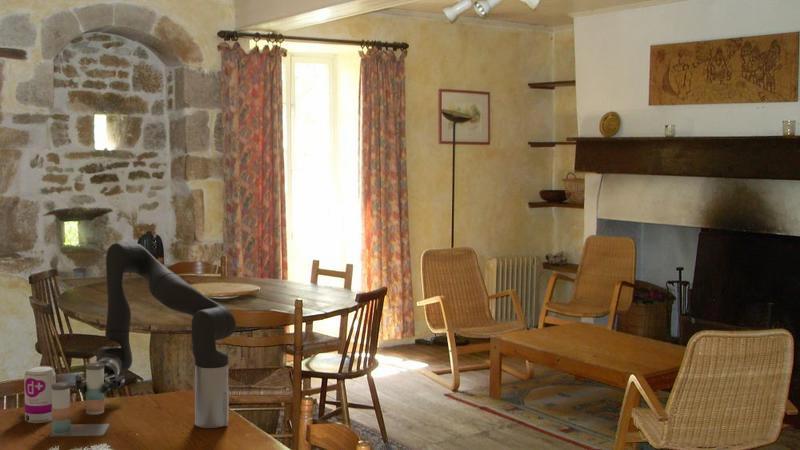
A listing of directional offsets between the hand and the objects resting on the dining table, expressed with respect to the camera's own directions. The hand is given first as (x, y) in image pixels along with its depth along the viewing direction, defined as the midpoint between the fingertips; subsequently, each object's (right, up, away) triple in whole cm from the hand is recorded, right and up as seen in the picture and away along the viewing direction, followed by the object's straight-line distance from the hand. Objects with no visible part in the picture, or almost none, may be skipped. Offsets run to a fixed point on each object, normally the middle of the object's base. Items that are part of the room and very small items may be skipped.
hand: (93, 389), depth 249 cm
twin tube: (-8, -12, -1) cm, 14 cm away
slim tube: (-1, -7, +3) cm, 7 cm away
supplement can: (-19, -11, +11) cm, 24 cm away
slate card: (-4, -12, +2) cm, 13 cm away
